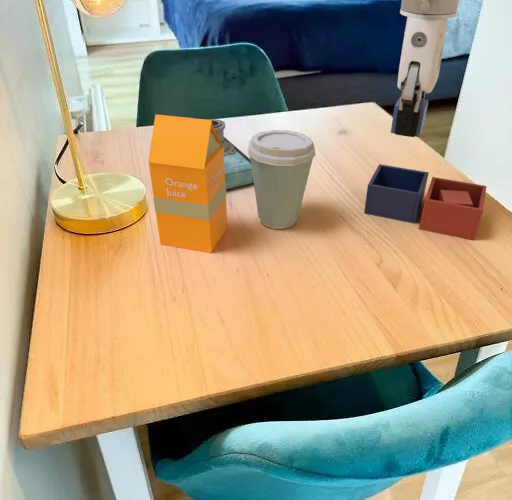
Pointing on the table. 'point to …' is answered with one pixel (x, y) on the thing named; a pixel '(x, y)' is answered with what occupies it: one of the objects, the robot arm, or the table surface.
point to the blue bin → (396, 193)
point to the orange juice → (188, 182)
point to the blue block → (422, 116)
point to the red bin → (452, 209)
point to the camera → (233, 160)
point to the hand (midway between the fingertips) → (407, 128)
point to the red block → (455, 197)
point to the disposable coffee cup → (280, 174)
